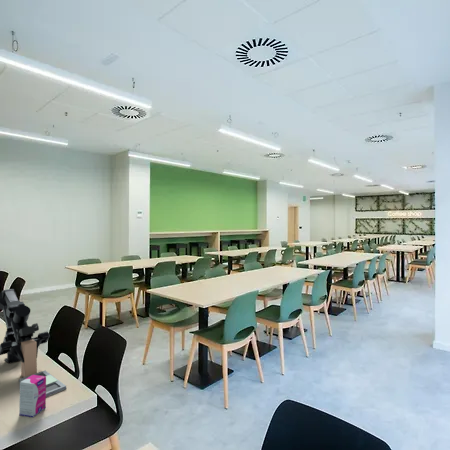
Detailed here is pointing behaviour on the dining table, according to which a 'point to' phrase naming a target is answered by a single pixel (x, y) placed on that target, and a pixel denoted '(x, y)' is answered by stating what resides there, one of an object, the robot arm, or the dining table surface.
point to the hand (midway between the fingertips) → (30, 360)
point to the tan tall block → (29, 358)
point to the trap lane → (49, 383)
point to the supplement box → (32, 395)
